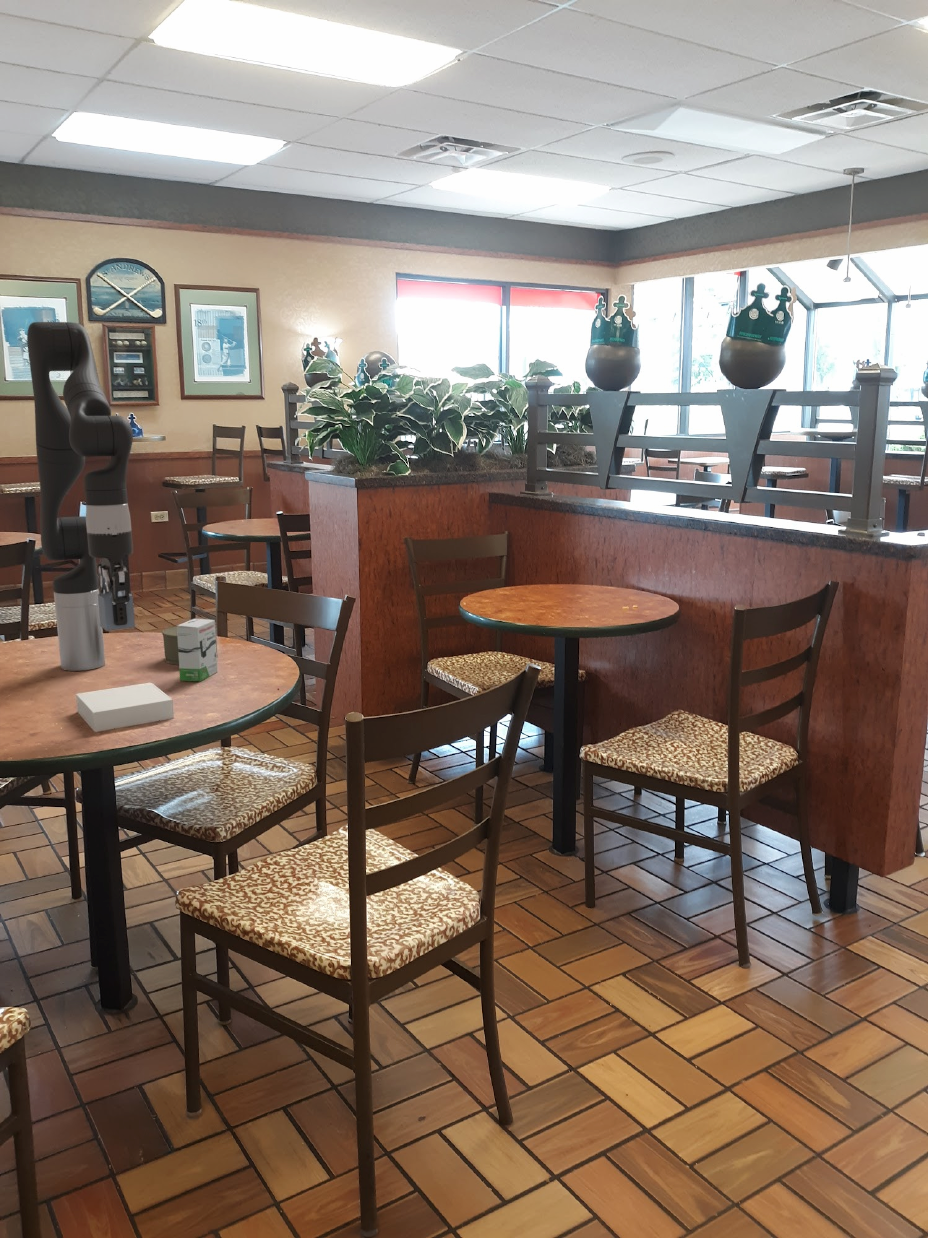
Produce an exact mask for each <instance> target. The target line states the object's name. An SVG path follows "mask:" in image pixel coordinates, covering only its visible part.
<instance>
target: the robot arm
mask: <svg viewBox="0 0 928 1238" xmlns="http://www.w3.org/2000/svg"><path fill="white" fill-rule="evenodd" d="M26 337H27V338H26V339H27V352H28V361H29V369H30V377H31V384H32V390H33V391H32V393H33V400H34V402H33V403H34V422H35V447H36V448H35V451H36V460H37V469H38V478H39V491H40V492H39V493H40V542H41V543H40V545H41V550H42V553H43V556H44V558H45V559H47V560H49V561H53V562H54V561H55V562H56V561H71V560H79V563H78V564H77V566H75V567H74V568H73V569H70V571H68V572H66V573H63V574H60V575H59V576H55V577H54V579H53V581H52V589H53V598H54V608H55V609H54V610H55V617H56V618H55V619H56V626H57V627H56V628H57V637H58V648H59V659H60V668H61V669H62V670H64V671H69V672H70V671H72V672H73V671H74V672H77V671H88V670H93V669H98V668H101V667H104V666H105V664H106V657H105V643H104V634H103V628H102V627H101V626H100V616H99V605H98V594H104V593H110V594H111V600H112V601H111V603H112V606H113V617H114V624H115V625H117V626H119V625H126V624H127V611H126V604H127V602H129V600H130V598H129V594H130V572H129V570H127V567H126V565H124V563H123V558H124V557H129V556H131V555H133V553H134V545H133V544H134V543H133V534H132V533H133V532H132V531H133V530H132V521H131V520H132V519H131V513H130V509H129V502H128V501H129V500H128V490H127V472H128V465H129V458H130V455H131V450H132V445H133V440H134V439H133V438H134V432H133V431H134V430H133V428H132V425H131V424H130V422H129V421H128V420H127V419H126V418H125V417H124V416H121V415H112V410H111V405H110V404H109V402H108V399H107V397H106V394H105V392H104V391H103V388H102V386H101V384H100V378H99V373H98V369H97V365H96V359H95V355H94V352H93V350H94V349H93V347H92V343H91V340H90V336H89V334H88V332H87V329H86V328H85V327H84V326H83V324H80V323H78V322H77V323H76V322H72V321H71V322H69V321H68V322H67V321H35V322H31V323H30V324H29V325H28V329H27V334H26ZM50 372H71V373H70V374H69V375H68V378H66V381H65V382H64V385H63V390H62V396H63V401H64V402H63V401H62V400H61V399H60V397H59V395H58V393H57V392H56V390H55V388H54V387H53V385H52V382H51V379H50ZM64 403H65V404H64ZM90 457H91V458H93V457H95V458H96V457H111V459H110V462H109V463H108V465H107V466H106V467H103V468H100V469H99V468H98V469H96V470H91V471H88V472H87V473H85V474H84V477H83V486H84V488H83V489H84V497H85V515H84V516H67V517H66V516H65V517H59V512H60V508H61V507H62V504H63V501H64V499H65V497H66V495H67V494H68V492H69V491H70V489H72V488H73V486H74V484H75V483H76V482H77V480H78V478H79V477H80V475H81V474H82V472H83V470H84V468H85V466H86V465H85V463H86V458H90ZM97 559H100V560H101V562H97ZM98 579H99V580H98ZM99 586H100V587H99ZM99 588H100V590H99ZM118 592H121V593H122V596H118Z"/></svg>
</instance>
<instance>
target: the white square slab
mask: <svg viewBox="0 0 928 1238" xmlns="http://www.w3.org/2000/svg"><path fill="white" fill-rule="evenodd" d="M75 696H76V697H75V698H76V708H77V713H78V715H80V717H81V718H82V719H83V720H84V721H85V722H86V724H87V725H88V726H89V727H90V728H91V729H92V730H93V732H95V733H98V732H102V731H109V730H113V729H114V728H115V729H119V728H125V727H130V726H131V727H132V726H137V725H143V724H147V723H152V722H159V720H160V721H165V720H170V719H174V718H175V713H174V701H173V699H172V697H170V696H169V695H168V694H166V693H165V692H163V691H162V690H161V689H160V688H159V687H158V686H156V685H155V684H154V683H152V682H146V683H139V684H138V683H137V684H132V685H125V686H119V687H113V688H112V687H111V688H106V689H98V690H92V691H87V692H85V691H84V692H79V693H75Z"/></svg>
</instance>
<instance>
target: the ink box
mask: <svg viewBox="0 0 928 1238" xmlns="http://www.w3.org/2000/svg"><path fill="white" fill-rule="evenodd" d="M176 626H177V638H178V654H179V665H178V668H179V669H178V670H179V671H178V672H179V680H180V682H181V681H183V682H202V681H204V680H206V679H207V678H209V677H211V676H213V675H214V674H216V673H218V657H217V655H218V651H217V652H216V638H217V633H216V634H215V627H216V621H215V619H208V618H207V619H206V618H192V619H189V620H188V621H185V622H183V623H180V624H177V625H176Z"/></svg>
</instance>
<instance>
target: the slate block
mask: <svg viewBox="0 0 928 1238" xmlns="http://www.w3.org/2000/svg"><path fill="white" fill-rule="evenodd" d="M118 596H122V593H121V592H118ZM129 598H130V600H129V602H127V604H126V611H127V624H126V625H119V626H117V625H115V624H114V617H113V606H112V603H111V601H112V600H111V594H110V593H104V594H101V593H99V594H98V605H99V616H100V626H101V627H102V630H105V631H106V632H111V631H112V632H113V631H119V630H125V629H128V630H129V629H135V628H136V624H135V612H134V611H135V609H134V598H133V595H132V594H131V593H129Z"/></svg>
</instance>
